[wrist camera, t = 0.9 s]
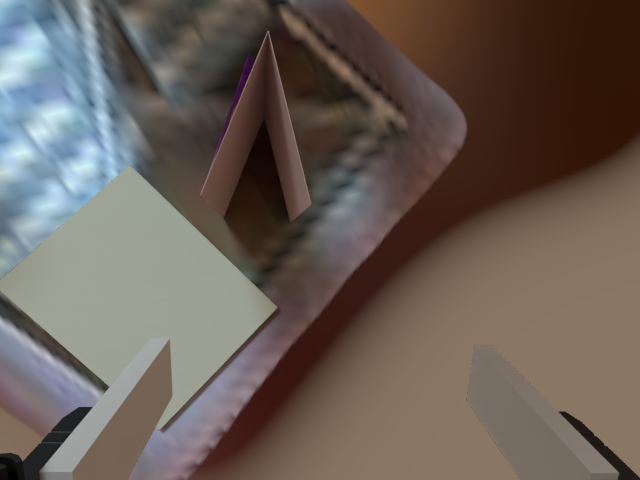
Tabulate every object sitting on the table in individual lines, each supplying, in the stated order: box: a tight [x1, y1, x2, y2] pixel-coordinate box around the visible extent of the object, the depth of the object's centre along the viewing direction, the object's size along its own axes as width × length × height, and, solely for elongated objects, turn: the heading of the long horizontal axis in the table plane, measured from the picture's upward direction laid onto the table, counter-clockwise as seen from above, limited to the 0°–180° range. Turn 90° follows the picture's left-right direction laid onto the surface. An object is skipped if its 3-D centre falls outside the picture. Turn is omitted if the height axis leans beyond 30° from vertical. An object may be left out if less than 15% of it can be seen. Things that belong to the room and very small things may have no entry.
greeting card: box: [200, 31, 311, 223], centre depth 30 cm, size 11×7×15 cm, turn 159°
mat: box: [0, 165, 278, 430], centre depth 35 cm, size 20×16×1 cm
